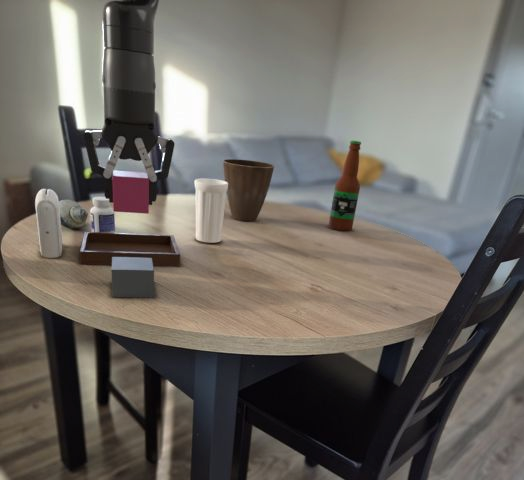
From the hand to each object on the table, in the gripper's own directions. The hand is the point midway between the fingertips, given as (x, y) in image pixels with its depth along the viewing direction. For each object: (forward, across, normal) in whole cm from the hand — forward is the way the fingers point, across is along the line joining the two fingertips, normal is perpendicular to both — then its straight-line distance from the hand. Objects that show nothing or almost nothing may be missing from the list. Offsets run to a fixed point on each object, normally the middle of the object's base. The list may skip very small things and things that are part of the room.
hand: (130, 202), depth 79 cm
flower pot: (+15, -34, -60) cm, 71 cm away
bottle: (+15, -63, -53) cm, 84 cm away
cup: (+16, -19, -34) cm, 42 cm away
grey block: (+15, 0, 0) cm, 15 cm away
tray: (+15, 0, -21) cm, 26 cm away
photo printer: (+16, +16, -22) cm, 31 cm away
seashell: (+16, +14, -42) cm, 47 cm away
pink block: (+1, 0, 0) cm, 1 cm away
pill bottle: (+16, +6, -34) cm, 38 cm away
